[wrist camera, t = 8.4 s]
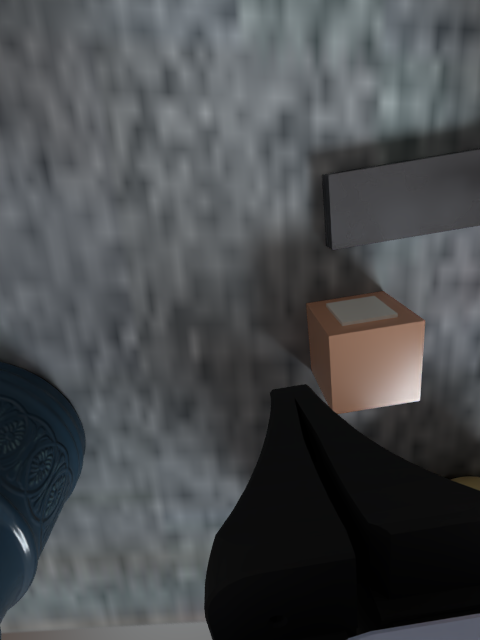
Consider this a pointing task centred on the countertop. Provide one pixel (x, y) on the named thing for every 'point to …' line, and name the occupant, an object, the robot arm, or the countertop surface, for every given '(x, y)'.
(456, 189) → the rail
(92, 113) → the countertop surface
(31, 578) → the canister
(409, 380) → the cube
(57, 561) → the countertop surface
